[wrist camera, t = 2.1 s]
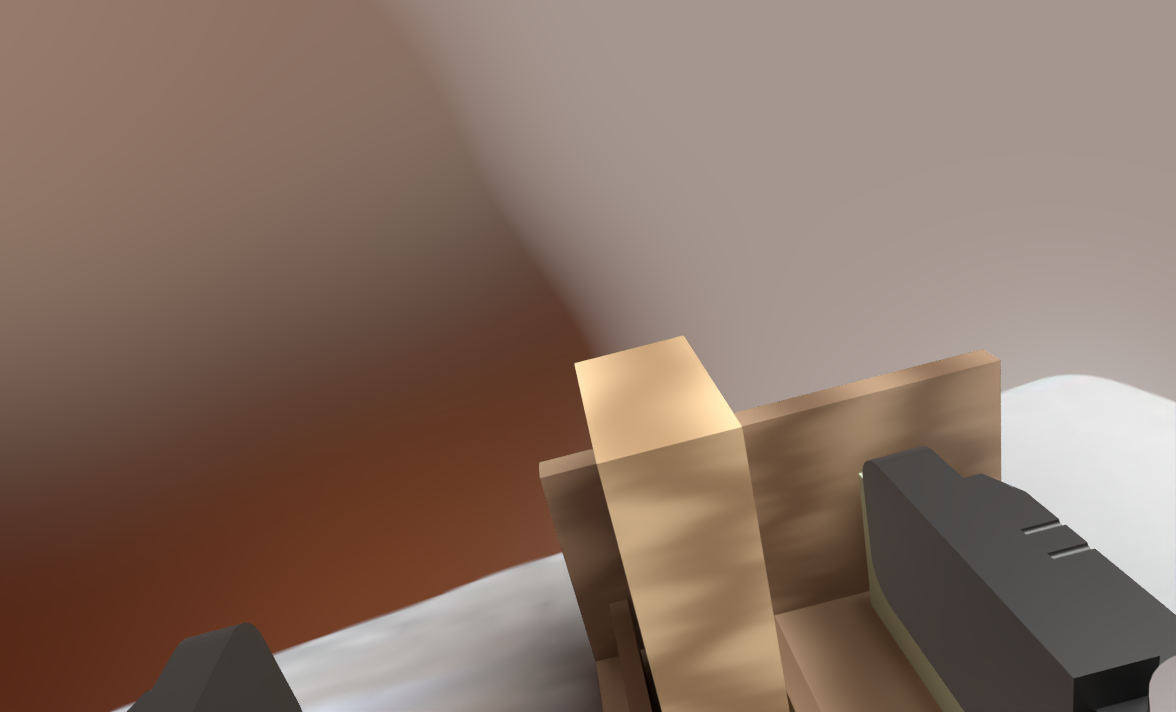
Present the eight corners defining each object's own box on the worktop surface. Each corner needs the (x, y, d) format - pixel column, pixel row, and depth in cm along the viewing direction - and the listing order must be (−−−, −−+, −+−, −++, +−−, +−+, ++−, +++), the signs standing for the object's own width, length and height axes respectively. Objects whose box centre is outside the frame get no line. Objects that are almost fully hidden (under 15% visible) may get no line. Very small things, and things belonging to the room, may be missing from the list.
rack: (641, 945, 23) (556, 697, 19) (598, 660, 34) (538, 462, 30) (1212, 797, 23) (1258, 516, 19) (985, 560, 34) (982, 349, 30)
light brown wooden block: (692, 826, 25) (596, 464, 19) (654, 670, 32) (574, 363, 26) (804, 797, 25) (742, 426, 19) (743, 647, 32) (683, 335, 26)
